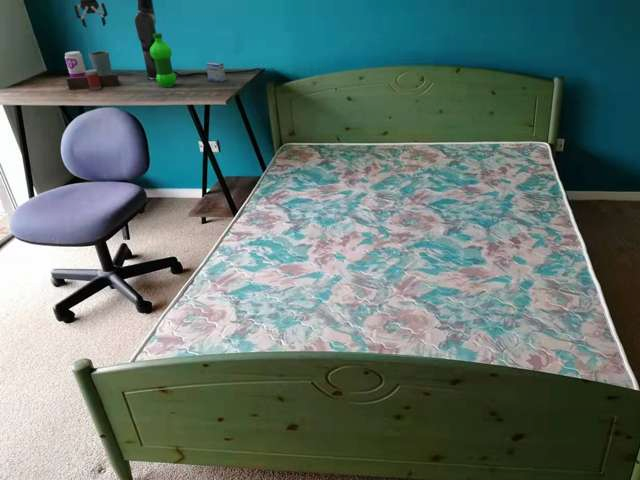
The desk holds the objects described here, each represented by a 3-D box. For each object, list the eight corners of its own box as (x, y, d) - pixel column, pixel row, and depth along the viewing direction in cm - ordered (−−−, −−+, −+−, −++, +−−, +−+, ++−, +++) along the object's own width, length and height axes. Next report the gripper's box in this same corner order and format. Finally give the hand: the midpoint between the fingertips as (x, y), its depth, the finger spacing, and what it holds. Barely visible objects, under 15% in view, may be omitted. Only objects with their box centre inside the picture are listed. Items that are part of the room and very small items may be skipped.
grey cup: (96, 78, 321) (89, 55, 314) (93, 74, 328) (86, 52, 322) (115, 76, 325) (109, 53, 319) (112, 72, 333) (106, 49, 326)
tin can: (102, 86, 307) (97, 68, 302) (101, 89, 302) (96, 71, 297) (90, 88, 305) (85, 69, 300) (89, 90, 301) (84, 72, 296)
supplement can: (83, 84, 311) (74, 54, 303) (69, 84, 313) (60, 54, 305) (92, 80, 318) (84, 51, 310) (78, 80, 319) (70, 50, 311)
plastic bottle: (157, 89, 300) (145, 36, 287) (157, 84, 309) (146, 32, 295) (177, 87, 302) (167, 35, 289) (177, 82, 311) (167, 31, 297)
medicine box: (208, 81, 312) (205, 63, 307) (213, 78, 315) (210, 61, 311) (221, 82, 309) (218, 64, 304) (226, 80, 313) (223, 62, 308)
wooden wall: (119, 83, 312) (117, 72, 309) (119, 85, 309) (116, 74, 306) (70, 87, 307) (67, 76, 304) (69, 89, 303) (66, 78, 300)
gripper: (68, -8, 284) (79, 29, 292) (100, -10, 287) (109, 26, 296) (70, -10, 290) (80, 26, 299) (101, -12, 293) (110, 24, 302)
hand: (95, 26), depth 297 cm, fingers open, 8 cm apart
